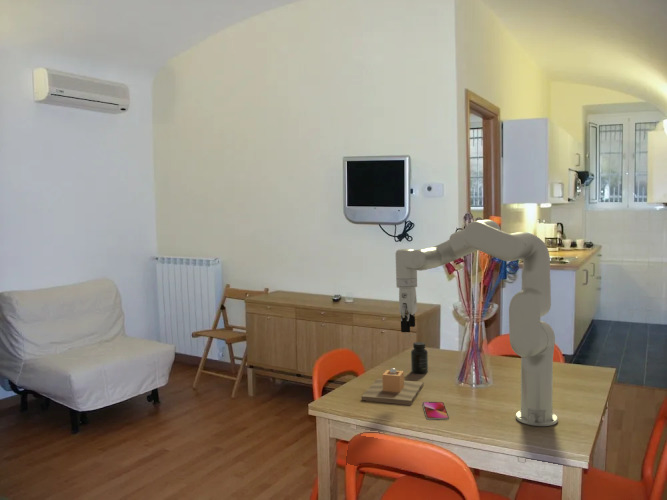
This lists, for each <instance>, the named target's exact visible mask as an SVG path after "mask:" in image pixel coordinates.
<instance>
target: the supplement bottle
mask: <svg viewBox="0 0 667 500" xmlns="http://www.w3.org/2000/svg"><path fill="white" fill-rule="evenodd" d="M412 343H413V346H412V348H413V349H412V350H411V351H410V364H411V365H410V367H411V368H410V370H411V372H412V373H413V374H415V375H424V374H427V373H428V371H429V357H428V356H429V355H428V354H429V353H428V350H427V349H426V343H425V342H422V341H416V342H412Z"/></svg>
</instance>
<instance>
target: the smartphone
mask: <svg viewBox="0 0 667 500" xmlns="http://www.w3.org/2000/svg"><path fill="white" fill-rule="evenodd" d="M445 405H446V404H445V403H444V402H442V401H423V402H422V409H423V411H424V415H425V418H426V420H429V421H432V420H435V421H437V420H441V421H442V420H445V421H446V420H450V416H449V413H448V411H447V408H446V406H445Z"/></svg>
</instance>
